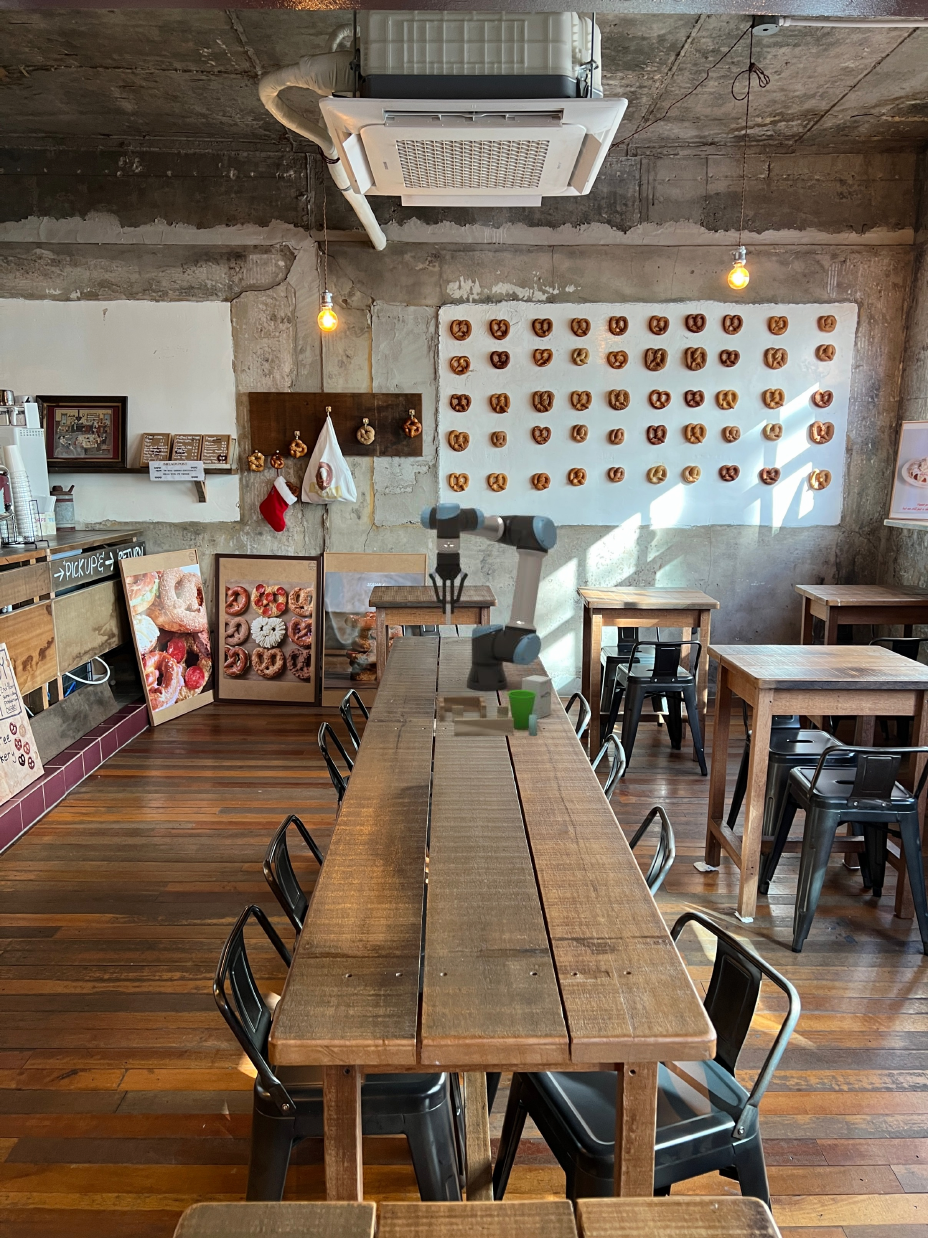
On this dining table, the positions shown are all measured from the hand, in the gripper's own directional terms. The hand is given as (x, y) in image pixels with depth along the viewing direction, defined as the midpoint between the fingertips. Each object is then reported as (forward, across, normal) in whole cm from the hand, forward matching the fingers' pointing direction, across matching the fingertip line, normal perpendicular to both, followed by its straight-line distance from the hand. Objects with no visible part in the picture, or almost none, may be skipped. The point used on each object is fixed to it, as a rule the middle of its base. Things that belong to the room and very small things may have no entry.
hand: (448, 623), depth 283 cm
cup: (+31, +22, -16) cm, 41 cm away
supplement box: (+31, +29, -2) cm, 42 cm away
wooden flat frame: (+30, +8, -10) cm, 33 cm away
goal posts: (+30, +25, -16) cm, 42 cm away
